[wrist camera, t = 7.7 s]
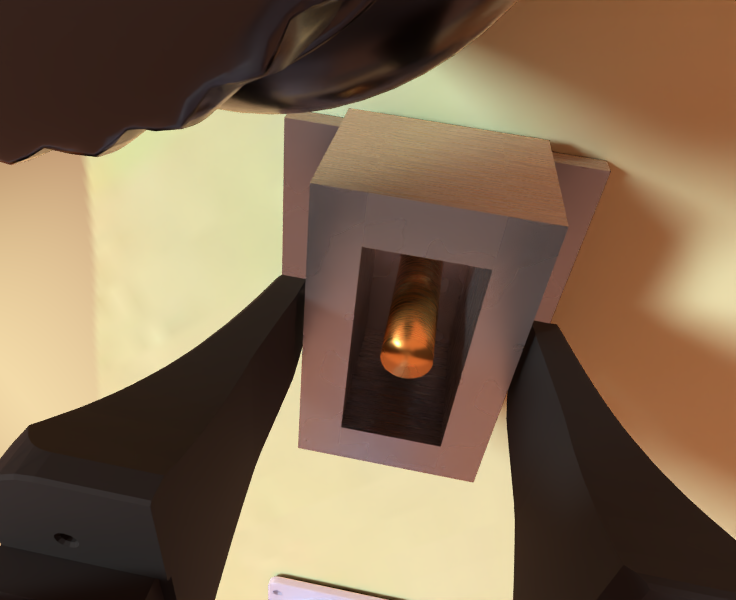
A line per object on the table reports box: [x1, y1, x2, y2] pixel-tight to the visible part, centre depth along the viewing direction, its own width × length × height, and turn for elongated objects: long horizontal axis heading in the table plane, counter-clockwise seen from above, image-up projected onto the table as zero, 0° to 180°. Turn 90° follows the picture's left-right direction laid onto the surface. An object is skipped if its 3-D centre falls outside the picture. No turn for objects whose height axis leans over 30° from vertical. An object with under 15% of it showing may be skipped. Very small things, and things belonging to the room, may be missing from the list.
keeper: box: [282, 112, 611, 379], centre depth 15 cm, size 7×8×5 cm
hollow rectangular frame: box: [298, 108, 569, 482], centre depth 15 cm, size 8×5×4 cm, turn 174°
